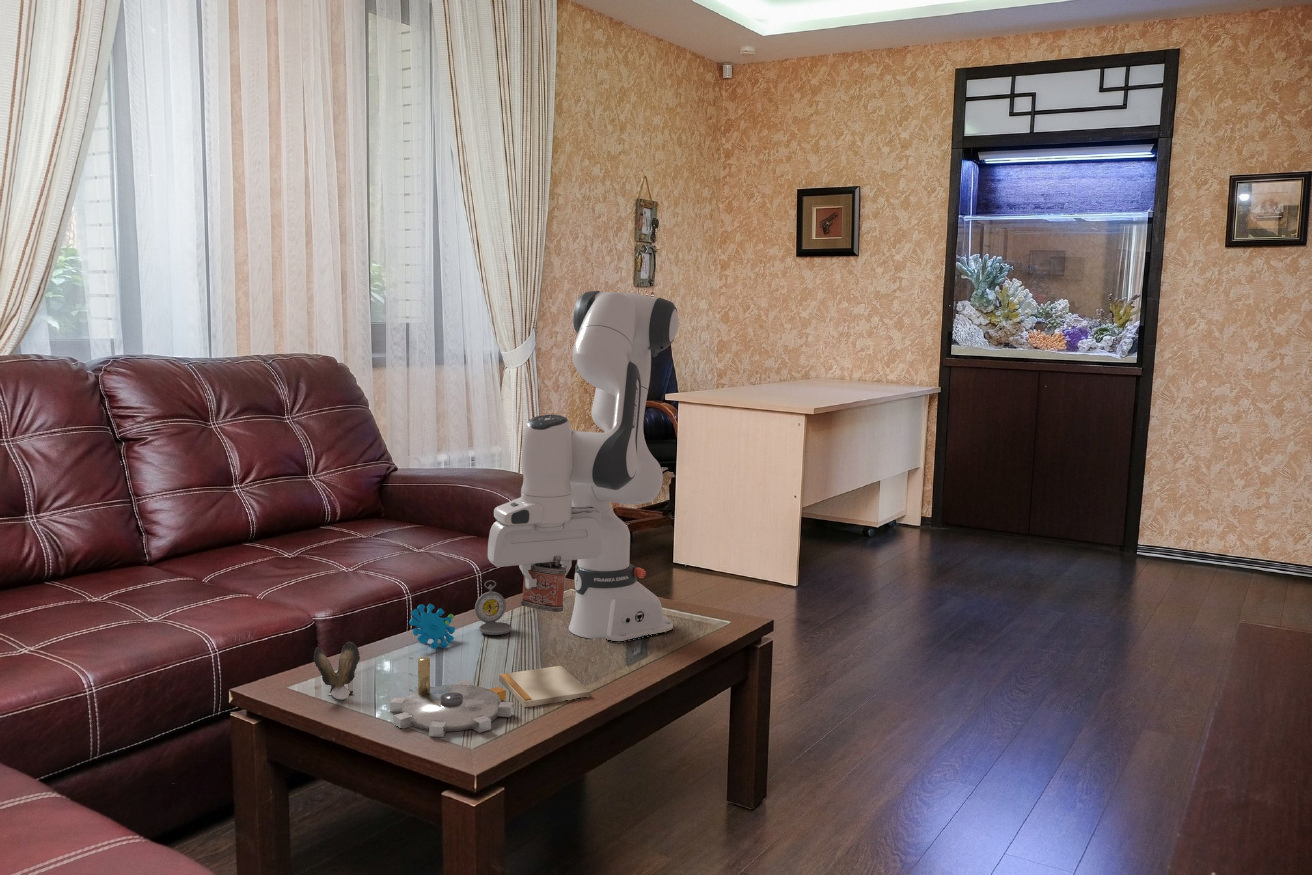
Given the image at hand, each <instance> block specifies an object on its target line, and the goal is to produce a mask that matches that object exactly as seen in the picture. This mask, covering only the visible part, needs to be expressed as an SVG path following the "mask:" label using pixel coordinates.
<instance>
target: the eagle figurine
mask: <svg viewBox="0 0 1312 875" xmlns="http://www.w3.org/2000/svg"><path fill="white" fill-rule="evenodd" d="M360 658H361V656H360V651H359V648H358V646H357V645H356V644H355V643H354V642H351V641H349V640H348V641H347V642H345V643H344V645H342V648H341V652H340V656H339V659H338V668H337V671H336V672H335V670H334V667H333V666H332V664H331V662H330V660H329V659H328V657H327V656H326V654H325V651H324V650H323V649H322V648H319V647H318V646H317V647H315V650H314V654H313V661H314V664H315V666H316V668H317V670H318V671H319V673H320V675H321V680H322V682H323V683H324V684H325V685H326V686H330V690H329V692H328V694H329V693H331V695H332V696H331V697H333V698H335V699H336V700H341V701H342V700H346V699H347V698H348V697H349V696H350V695H349V694H352V695H353V694H354V691H352V690H349V689H348V688H347V687H345V685H349V684H351V682H352V681H353V680H354V678H355V677H356V676H355V674H356V673H355V672H356V669H357V666H358V665H359V664H358V663H359V662H360Z"/></svg>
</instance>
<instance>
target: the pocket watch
mask: <svg viewBox="0 0 1312 875" xmlns="http://www.w3.org/2000/svg"><path fill="white" fill-rule="evenodd" d="M489 582H493V583H494V584H493V585H492V584H489V586H487V585H486V584H487V583H489ZM483 586H484V587H485V588H486V589H488V590H489V591H488V592H487V591H486V592H485V593H483V594H481V595H480V596H479V597H477V600H476V602H475V605H474V613H475V616H476V617H477V618H478V619H479V621H481V622H482V624H481V625H480V626H479V629H478V631H479V632H481V633H482V634H484V635H490V636H497V635H498V636H500V635H505V634H507V633H509V632H510V631H512V629H513V628H512V625H511V624H510V623H506V622H502V621H501V622H500V621H499V620H500V619H501V618H502V617H503V616H504V614H505V612H506V609H507V605H506V604H507V603H506V599H505V598H504V597H503V595H502V594H500V593H498V592H496V591H492V590H493V589H494V588H495V587H496V586H497V582H496V581H494V580H493V579H492V580H491V579H490V580H486V581H485V582H484V585H483Z"/></svg>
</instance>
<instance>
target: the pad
mask: <svg viewBox="0 0 1312 875" xmlns="http://www.w3.org/2000/svg"><path fill="white" fill-rule="evenodd" d="M498 680H499V682H500V683H501V684H502V685H503V686H504V687H505V688H506V689H507V691H509V692H510V693H511V694H512V695H513V696H514V698H515V699H516V700H517V701H518V702H519V703H520V705H522V706H523V707H524V708H529V707H536V706H542V705H548V704H554V703H555V704H556V703H561V702H562V703H563V702H566V701H565V700H568V701H572V699H575V698H579V697H587V696H590V697H591V691H590V690H589V689H588V688H587V687H586V686H584V685H583V684H582V683H581V682H580V681H579V680H578V679H577V678H576V677H575V676H573V675H572V674H571V673H570V672H569V671H567V669H566V668H564V667H563V666H562V665H555V666H548V667H541V668H536V669H527V670H521V671H514V672H507V673H500V674H498ZM587 698H588V697H587ZM575 700H576V699H575Z"/></svg>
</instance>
